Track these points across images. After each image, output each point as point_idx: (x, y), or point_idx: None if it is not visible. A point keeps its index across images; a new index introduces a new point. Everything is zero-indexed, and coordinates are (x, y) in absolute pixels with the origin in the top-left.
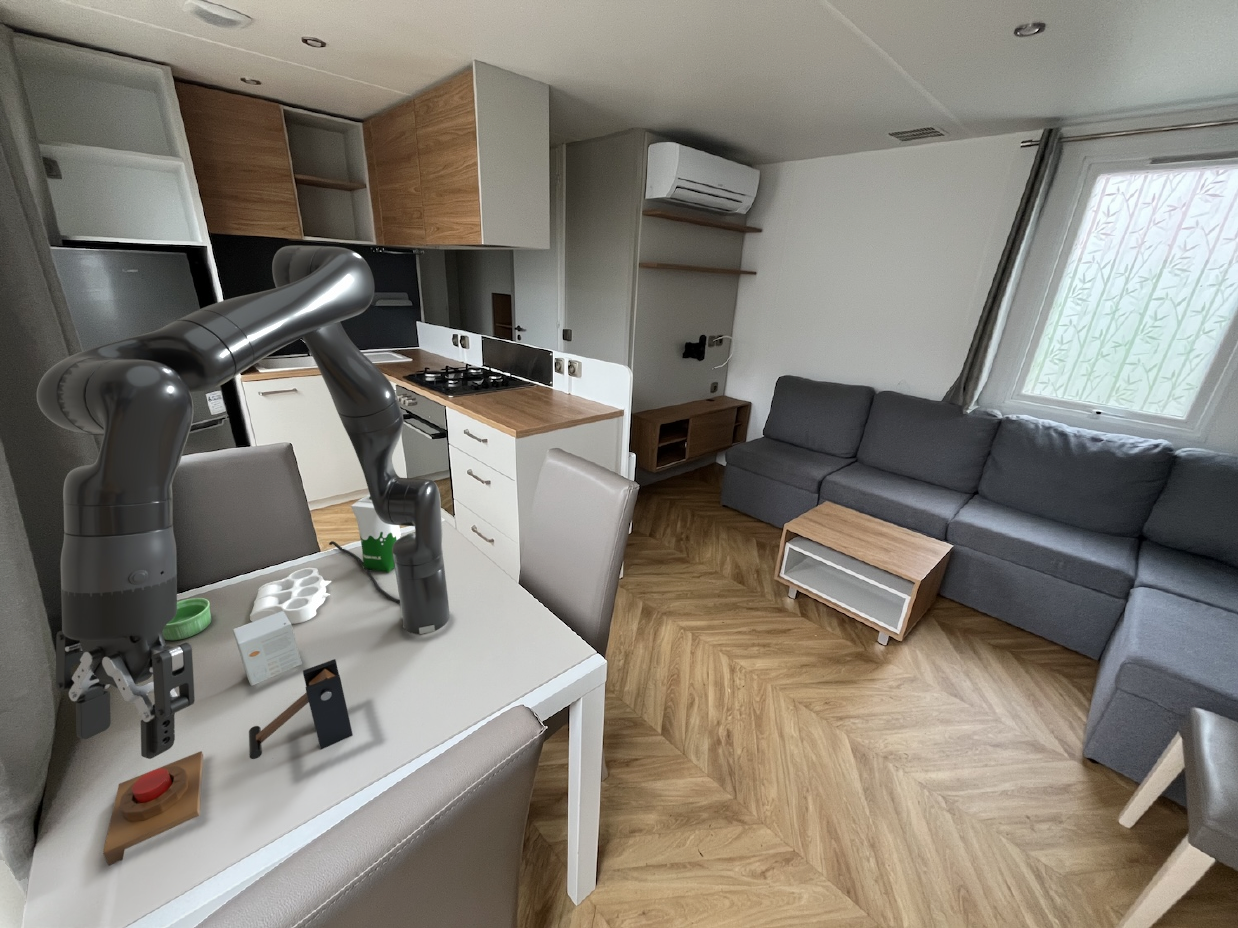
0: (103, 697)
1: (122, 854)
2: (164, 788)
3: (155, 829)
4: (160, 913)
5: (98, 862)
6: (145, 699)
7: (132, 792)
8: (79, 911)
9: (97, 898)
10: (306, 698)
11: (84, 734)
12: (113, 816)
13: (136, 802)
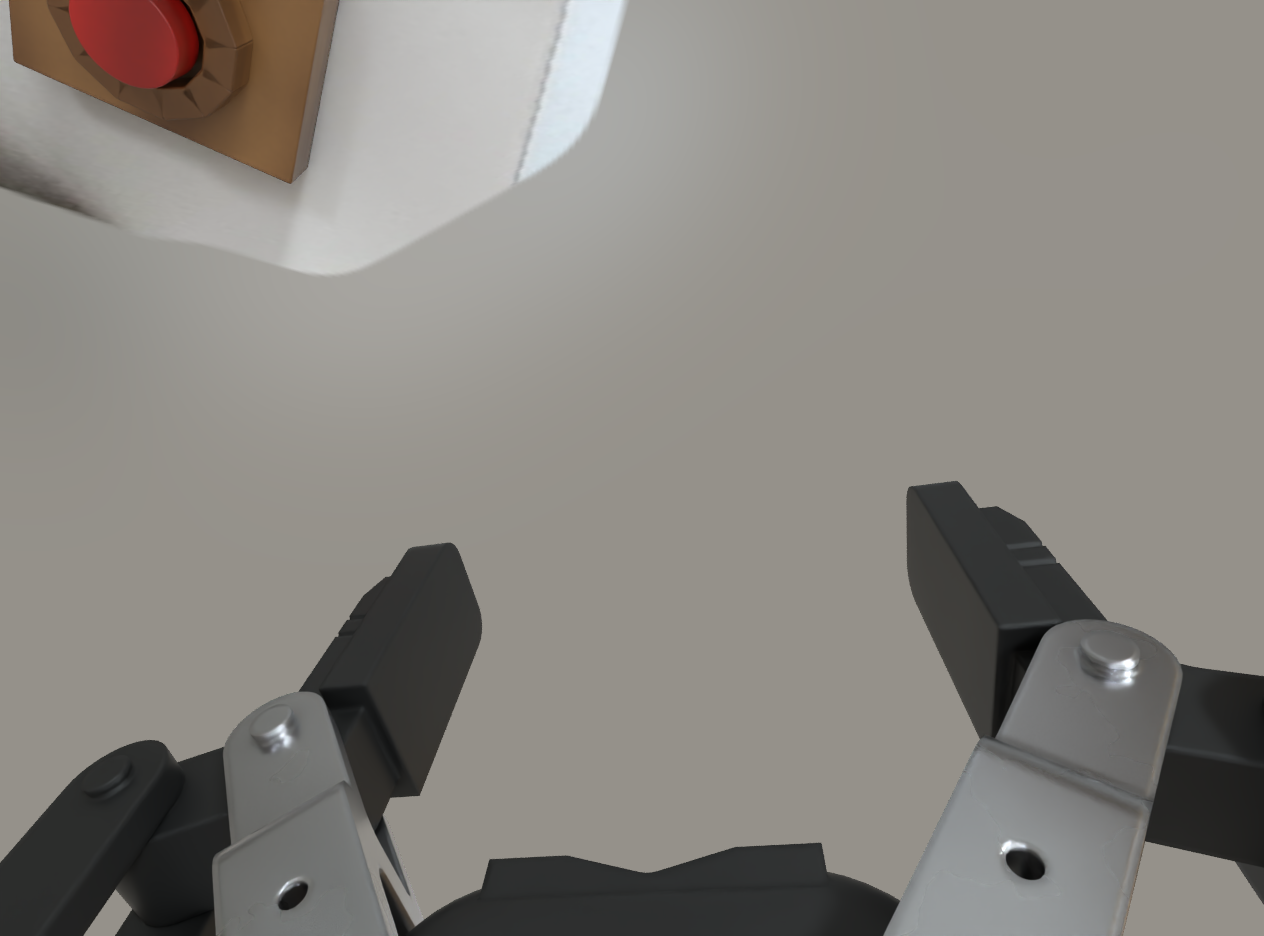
0: (390, 697)
1: (307, 145)
2: (177, 10)
3: (309, 81)
4: (542, 157)
5: None
6: (1125, 923)
7: None
8: (390, 239)
9: (385, 210)
10: None
11: (477, 637)
12: (166, 124)
13: None
